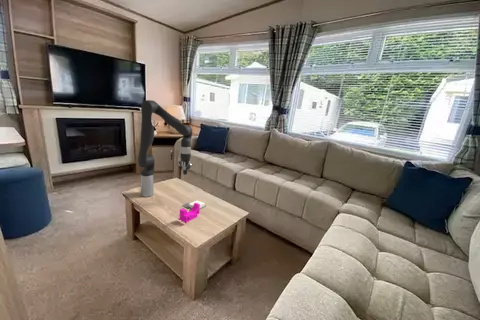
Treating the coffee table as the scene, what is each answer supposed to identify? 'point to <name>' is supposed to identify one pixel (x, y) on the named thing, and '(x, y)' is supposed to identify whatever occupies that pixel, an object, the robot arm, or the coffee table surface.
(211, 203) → the coffee table surface
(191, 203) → the tile
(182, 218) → the magenta pipe clamp half
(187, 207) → the mat
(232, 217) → the coffee table surface
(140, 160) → the robot arm
